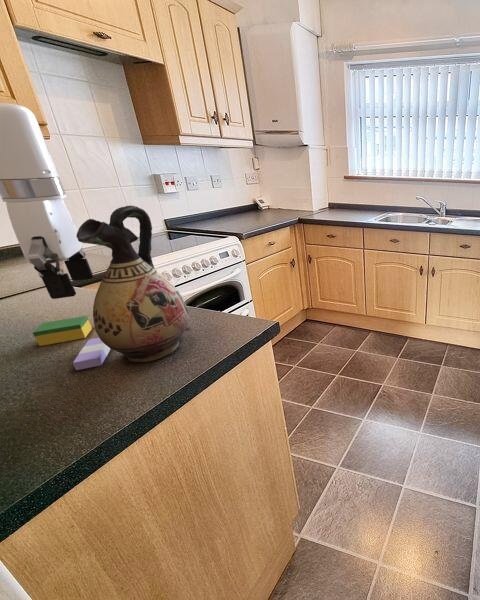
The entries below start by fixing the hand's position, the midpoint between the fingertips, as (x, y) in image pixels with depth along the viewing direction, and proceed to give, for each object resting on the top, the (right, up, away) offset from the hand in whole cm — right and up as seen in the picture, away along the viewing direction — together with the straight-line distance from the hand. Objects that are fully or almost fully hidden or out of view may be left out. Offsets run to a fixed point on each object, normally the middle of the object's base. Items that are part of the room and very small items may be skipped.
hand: (74, 287), depth 62 cm
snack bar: (-4, -14, +9) cm, 17 cm away
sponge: (-18, -11, +16) cm, 26 cm away
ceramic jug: (+8, -13, +11) cm, 19 cm away
